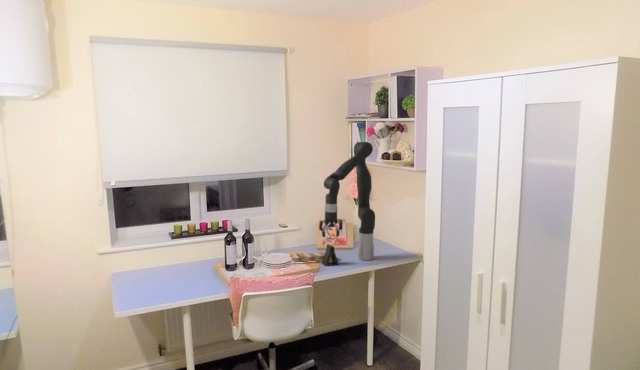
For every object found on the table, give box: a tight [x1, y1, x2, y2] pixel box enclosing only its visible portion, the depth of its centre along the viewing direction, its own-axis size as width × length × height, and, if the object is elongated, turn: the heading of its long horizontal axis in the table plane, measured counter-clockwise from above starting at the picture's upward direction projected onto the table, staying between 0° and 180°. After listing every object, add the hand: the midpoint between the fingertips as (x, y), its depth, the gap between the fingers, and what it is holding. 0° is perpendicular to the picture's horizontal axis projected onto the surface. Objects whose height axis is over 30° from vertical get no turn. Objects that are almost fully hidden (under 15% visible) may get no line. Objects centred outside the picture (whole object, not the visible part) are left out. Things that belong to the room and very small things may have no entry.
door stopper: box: [321, 244, 340, 267], centre depth 275 cm, size 9×6×12 cm, turn 111°
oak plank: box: [289, 251, 332, 263], centre depth 282 cm, size 28×8×4 cm, turn 106°
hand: (330, 236), depth 274 cm, fingers open, 8 cm apart
